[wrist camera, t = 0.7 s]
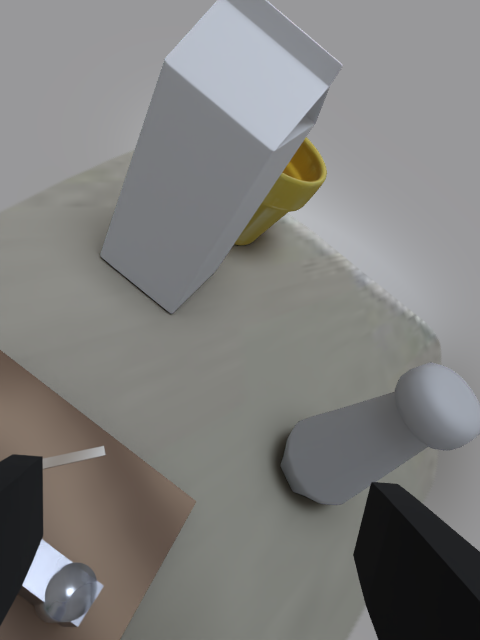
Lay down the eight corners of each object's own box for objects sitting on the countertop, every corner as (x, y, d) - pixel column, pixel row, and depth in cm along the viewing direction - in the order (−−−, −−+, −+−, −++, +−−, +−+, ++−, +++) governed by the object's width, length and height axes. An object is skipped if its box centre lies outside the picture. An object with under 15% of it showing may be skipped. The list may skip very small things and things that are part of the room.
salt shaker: (261, 431, 28) (395, 340, 19) (320, 425, 31) (461, 343, 22) (285, 520, 25) (456, 461, 16) (348, 504, 28) (522, 446, 19)
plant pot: (284, 232, 45) (339, 160, 38) (249, 278, 37) (310, 199, 30) (211, 174, 44) (254, 91, 37) (161, 209, 37) (203, 113, 30)
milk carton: (170, 316, 30) (323, 73, 17) (98, 257, 30) (194, -36, 17) (214, 272, 35) (358, 59, 22) (153, 222, 35) (260, -24, 22)
